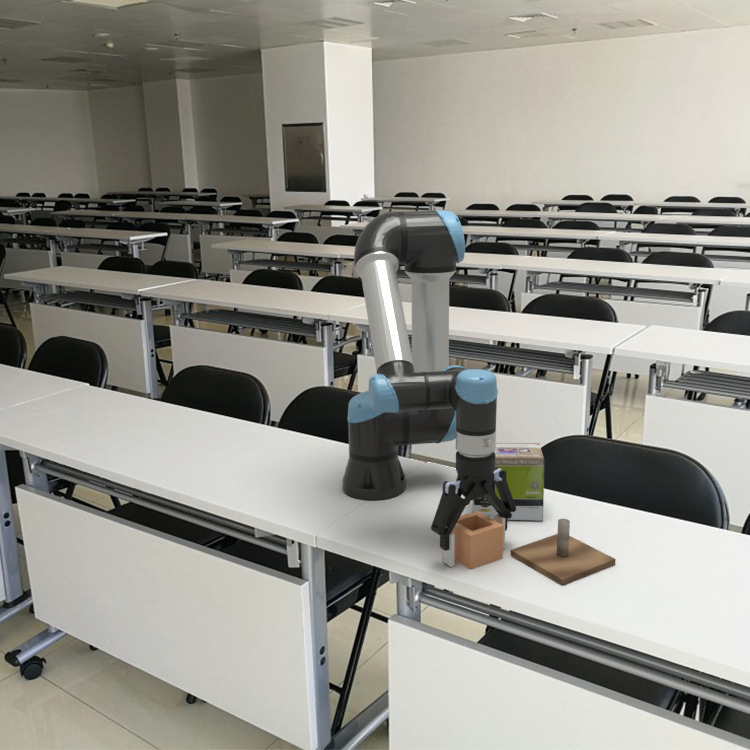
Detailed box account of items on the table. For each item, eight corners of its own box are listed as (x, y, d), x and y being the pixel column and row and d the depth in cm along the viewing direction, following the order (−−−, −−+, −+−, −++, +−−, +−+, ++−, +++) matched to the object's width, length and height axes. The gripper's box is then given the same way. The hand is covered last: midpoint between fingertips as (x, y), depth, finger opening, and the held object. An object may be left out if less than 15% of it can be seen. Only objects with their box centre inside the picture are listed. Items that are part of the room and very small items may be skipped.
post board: (510, 555, 157) (511, 517, 155) (562, 537, 164) (563, 500, 162) (562, 585, 145) (564, 544, 143) (615, 564, 153) (617, 525, 151)
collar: (445, 553, 158) (445, 520, 157) (476, 542, 162) (477, 510, 161) (470, 569, 152) (471, 535, 150) (502, 558, 156) (503, 525, 154)
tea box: (538, 503, 181) (541, 441, 177) (543, 522, 171) (545, 457, 167) (471, 501, 182) (472, 440, 179) (472, 520, 173) (473, 456, 169)
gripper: (436, 470, 142) (435, 580, 148) (536, 444, 155) (533, 546, 160) (411, 458, 148) (412, 563, 154) (510, 434, 161) (508, 532, 166)
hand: (474, 555), depth 157 cm, fingers open, 12 cm apart
